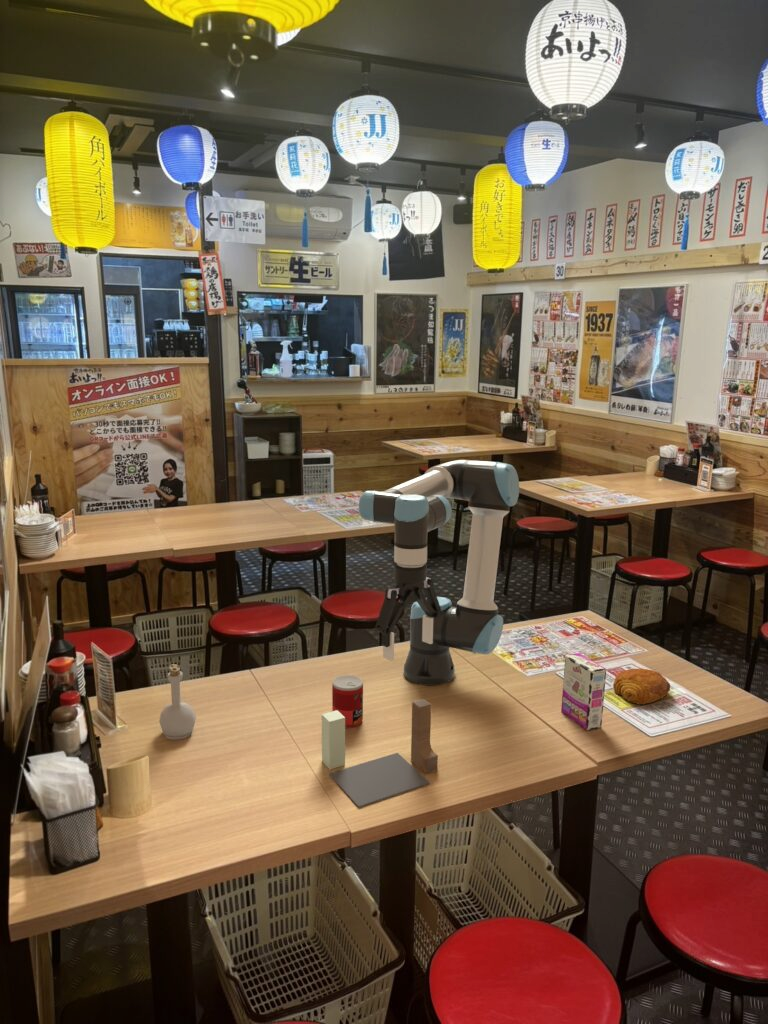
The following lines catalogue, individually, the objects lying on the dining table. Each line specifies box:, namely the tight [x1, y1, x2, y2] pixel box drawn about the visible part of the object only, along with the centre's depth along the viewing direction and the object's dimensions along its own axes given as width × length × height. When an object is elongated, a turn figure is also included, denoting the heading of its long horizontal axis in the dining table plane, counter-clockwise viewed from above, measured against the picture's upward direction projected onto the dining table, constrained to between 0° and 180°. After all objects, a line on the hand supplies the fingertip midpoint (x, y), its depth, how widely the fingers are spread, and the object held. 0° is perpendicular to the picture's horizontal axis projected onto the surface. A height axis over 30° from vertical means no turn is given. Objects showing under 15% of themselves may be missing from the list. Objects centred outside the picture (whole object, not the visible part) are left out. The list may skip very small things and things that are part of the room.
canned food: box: [331, 675, 364, 729], centre depth 189 cm, size 8×8×11 cm
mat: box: [328, 752, 431, 809], centre depth 164 cm, size 18×14×1 cm
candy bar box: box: [560, 652, 607, 731], centre depth 190 cm, size 11×5×16 cm, turn 23°
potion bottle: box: [158, 663, 197, 741], centre depth 181 cm, size 9×9×18 cm
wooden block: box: [410, 698, 439, 774], centre depth 169 cm, size 7×3×15 cm, turn 30°
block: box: [321, 710, 346, 770], centre depth 169 cm, size 4×4×12 cm
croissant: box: [612, 668, 671, 705], centre depth 207 cm, size 14×16×8 cm
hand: (408, 650), depth 171 cm, fingers open, 13 cm apart
